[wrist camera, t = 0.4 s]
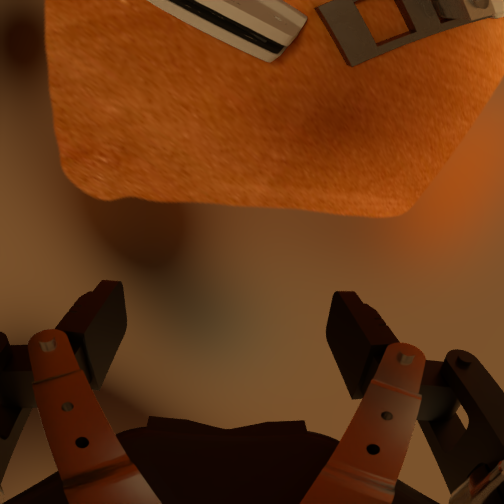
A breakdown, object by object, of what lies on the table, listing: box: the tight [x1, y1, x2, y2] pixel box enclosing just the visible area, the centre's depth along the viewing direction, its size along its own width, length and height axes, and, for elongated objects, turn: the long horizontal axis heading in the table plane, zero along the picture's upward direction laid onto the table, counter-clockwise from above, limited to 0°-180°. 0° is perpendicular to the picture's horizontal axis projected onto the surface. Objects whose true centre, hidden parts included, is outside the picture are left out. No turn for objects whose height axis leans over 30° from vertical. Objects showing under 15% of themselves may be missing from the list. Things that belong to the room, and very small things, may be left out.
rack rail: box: [314, 0, 493, 67], centre depth 24 cm, size 8×24×2 cm, turn 122°
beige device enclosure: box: [147, 0, 307, 62], centre depth 24 cm, size 17×5×10 cm, turn 56°
